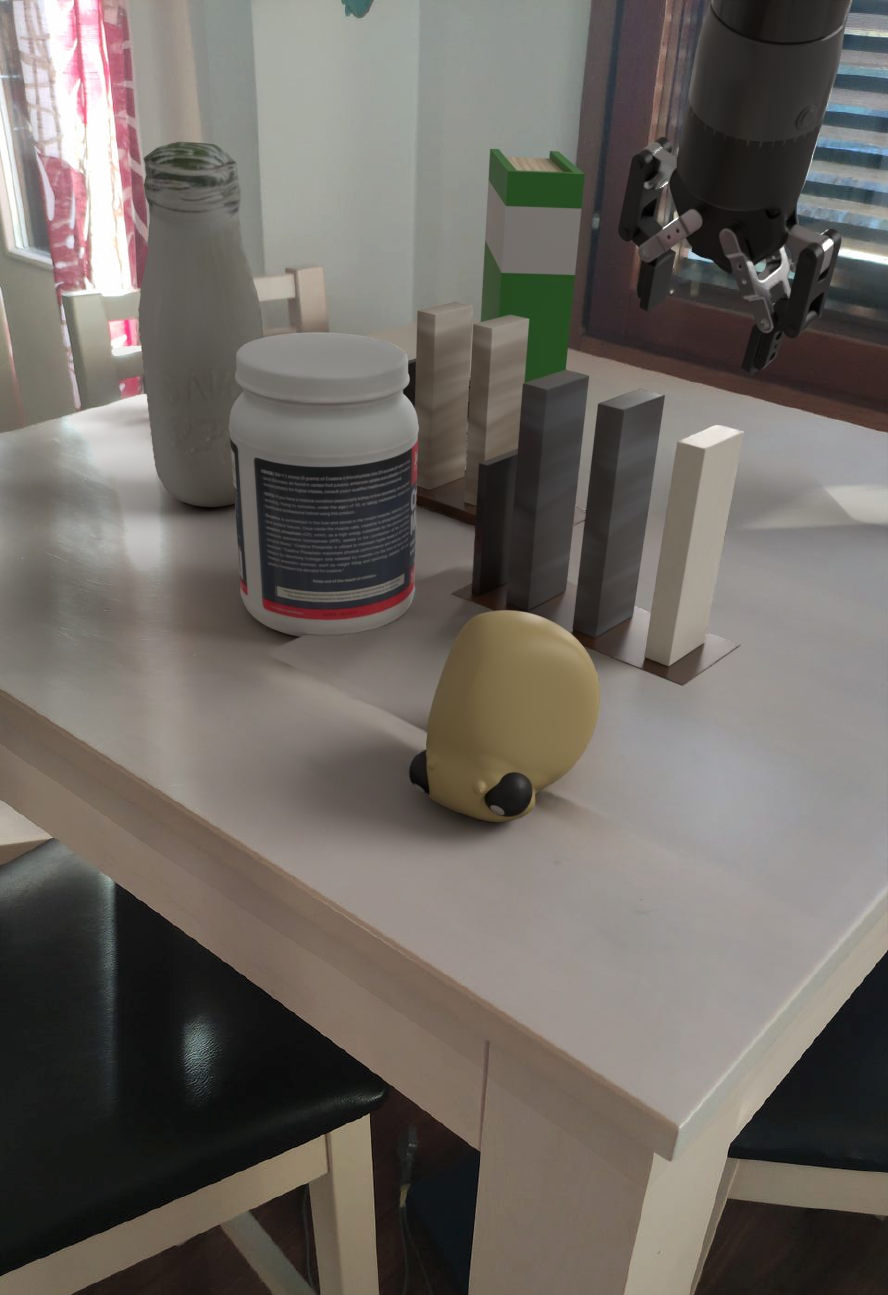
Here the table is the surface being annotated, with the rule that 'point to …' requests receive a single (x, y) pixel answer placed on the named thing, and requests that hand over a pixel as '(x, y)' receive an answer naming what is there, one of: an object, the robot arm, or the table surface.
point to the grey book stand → (542, 514)
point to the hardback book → (533, 251)
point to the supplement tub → (324, 482)
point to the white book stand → (465, 402)
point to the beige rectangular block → (692, 542)
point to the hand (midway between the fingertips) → (702, 335)
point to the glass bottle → (194, 317)
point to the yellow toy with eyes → (506, 716)
